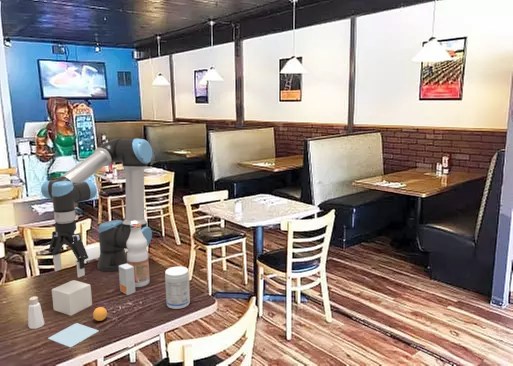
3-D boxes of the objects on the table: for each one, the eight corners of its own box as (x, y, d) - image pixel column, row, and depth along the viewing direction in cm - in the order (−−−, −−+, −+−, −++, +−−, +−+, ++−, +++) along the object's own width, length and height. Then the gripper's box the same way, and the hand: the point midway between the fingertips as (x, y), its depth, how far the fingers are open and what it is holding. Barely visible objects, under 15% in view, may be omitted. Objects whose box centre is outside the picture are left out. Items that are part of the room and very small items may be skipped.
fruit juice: (124, 287, 190) (120, 226, 185) (134, 278, 199) (130, 221, 194) (144, 288, 188) (140, 227, 183) (153, 280, 197) (150, 222, 192)
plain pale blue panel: (76, 323, 159) (76, 322, 159) (99, 331, 153) (99, 330, 153) (47, 338, 148) (47, 338, 148) (70, 347, 143) (70, 347, 143)
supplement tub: (169, 299, 178) (167, 265, 175) (191, 299, 178) (190, 265, 175) (164, 310, 168) (162, 275, 166) (187, 309, 168) (186, 275, 166)
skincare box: (119, 291, 186) (118, 265, 183) (128, 288, 189) (126, 262, 186) (127, 295, 181) (125, 269, 179) (135, 292, 185) (134, 266, 182)
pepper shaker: (27, 330, 154) (24, 302, 152) (28, 323, 159) (25, 296, 157) (44, 327, 156) (41, 299, 154) (45, 320, 161) (42, 293, 159)
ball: (101, 315, 164) (100, 303, 163) (110, 318, 162) (109, 306, 161) (90, 321, 160) (89, 309, 159) (100, 324, 158) (99, 312, 157)
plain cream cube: (75, 299, 178) (73, 279, 176) (92, 304, 173) (90, 284, 172) (53, 309, 169) (51, 289, 167) (70, 315, 164) (68, 294, 163)
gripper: (35, 219, 167) (40, 270, 171) (78, 227, 155) (83, 282, 159) (52, 215, 174) (57, 264, 177) (95, 222, 162) (99, 275, 166)
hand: (69, 273), depth 168 cm, fingers open, 13 cm apart
